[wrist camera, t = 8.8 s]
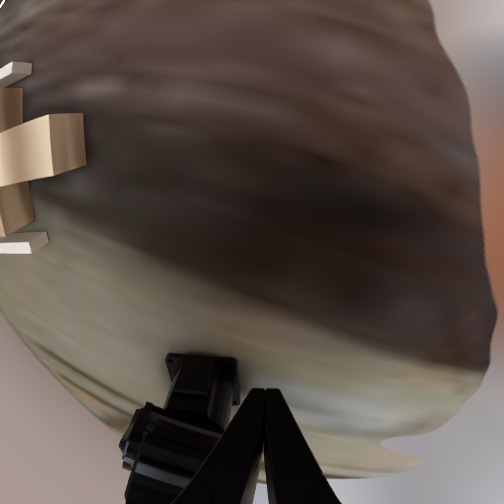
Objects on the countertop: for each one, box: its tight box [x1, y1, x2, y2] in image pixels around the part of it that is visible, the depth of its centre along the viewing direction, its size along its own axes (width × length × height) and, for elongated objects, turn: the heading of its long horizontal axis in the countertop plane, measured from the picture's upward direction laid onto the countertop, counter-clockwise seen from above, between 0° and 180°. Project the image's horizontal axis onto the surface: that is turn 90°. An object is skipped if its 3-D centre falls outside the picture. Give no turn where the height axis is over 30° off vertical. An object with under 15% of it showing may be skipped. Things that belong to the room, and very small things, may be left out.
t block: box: [0, 88, 87, 237], centre depth 16 cm, size 11×12×4 cm
